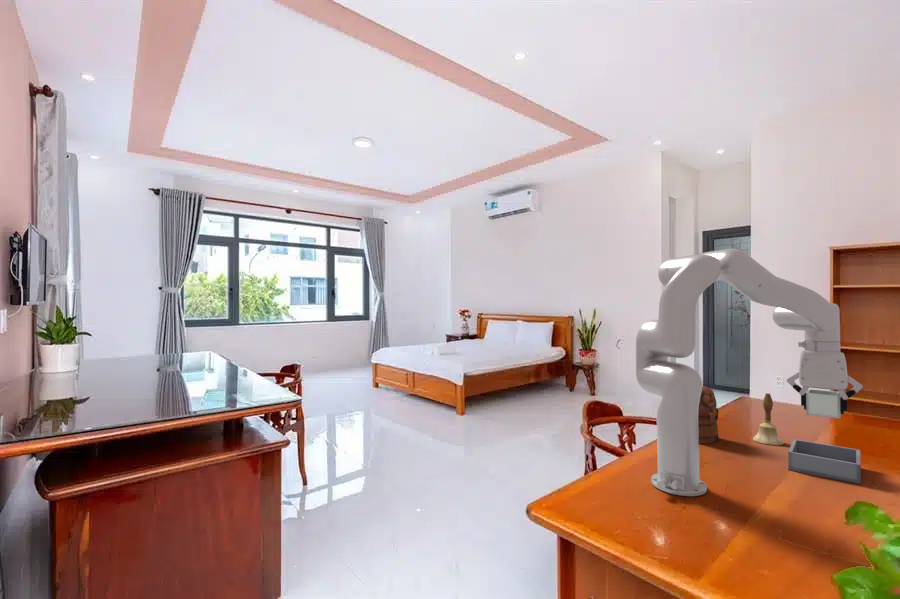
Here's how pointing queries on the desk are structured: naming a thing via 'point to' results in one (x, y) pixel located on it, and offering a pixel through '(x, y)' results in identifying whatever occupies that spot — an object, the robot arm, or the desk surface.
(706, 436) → the wooden figurine
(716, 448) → the desk surface
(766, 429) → the hand bell
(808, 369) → the robot arm
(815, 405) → the small crate
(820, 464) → the box
